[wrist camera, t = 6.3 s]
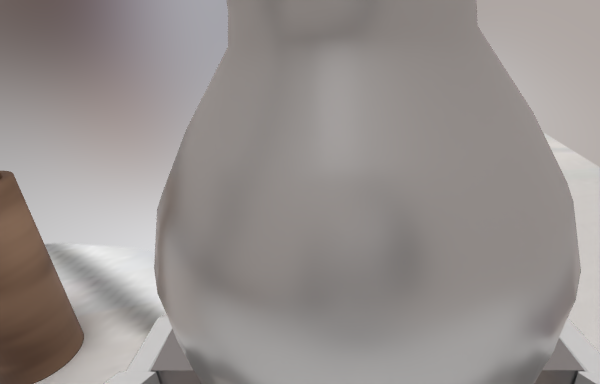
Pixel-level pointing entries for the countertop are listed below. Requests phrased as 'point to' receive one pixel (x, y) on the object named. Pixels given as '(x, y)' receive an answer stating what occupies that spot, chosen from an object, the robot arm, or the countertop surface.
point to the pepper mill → (30, 297)
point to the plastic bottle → (364, 205)
